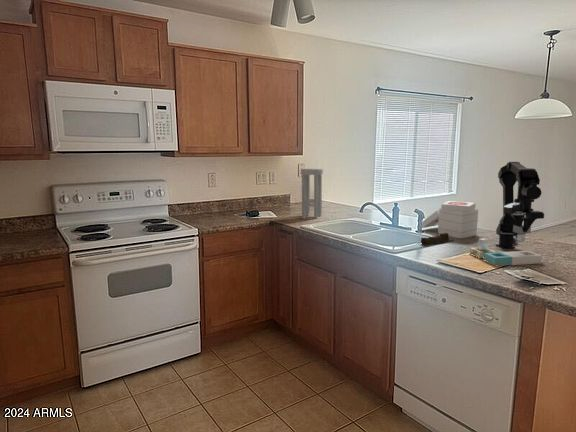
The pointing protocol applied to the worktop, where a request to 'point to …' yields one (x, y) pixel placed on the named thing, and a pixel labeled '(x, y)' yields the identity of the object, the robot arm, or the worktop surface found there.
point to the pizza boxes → (455, 219)
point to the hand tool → (435, 239)
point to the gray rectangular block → (520, 232)
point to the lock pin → (483, 244)
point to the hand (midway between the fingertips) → (521, 231)
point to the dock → (513, 258)
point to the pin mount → (480, 252)
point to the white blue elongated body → (514, 239)
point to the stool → (306, 191)
